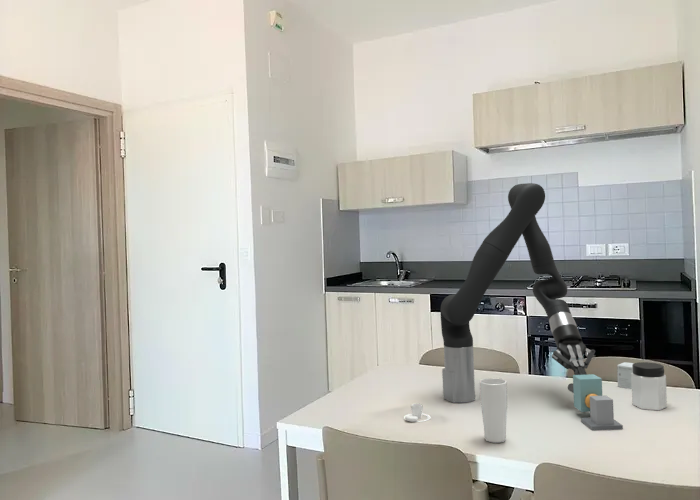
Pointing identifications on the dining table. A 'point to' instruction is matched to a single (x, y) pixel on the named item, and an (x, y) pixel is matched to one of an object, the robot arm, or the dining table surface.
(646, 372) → the jar
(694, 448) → the dining table surface
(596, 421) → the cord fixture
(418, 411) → the teacup and saucer
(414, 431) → the dining table surface
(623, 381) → the skincare box
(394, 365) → the dining table surface
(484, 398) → the drinking glass
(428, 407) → the dining table surface
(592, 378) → the teal block with hole
